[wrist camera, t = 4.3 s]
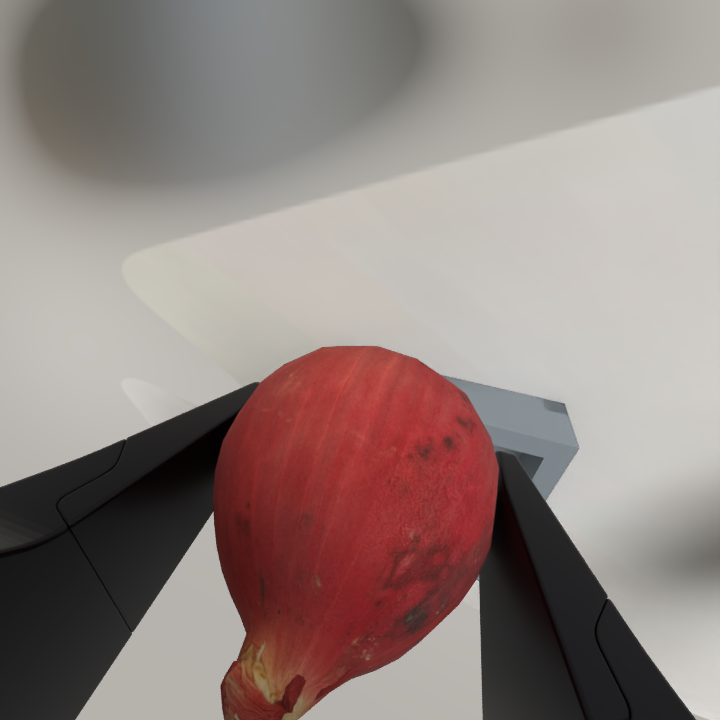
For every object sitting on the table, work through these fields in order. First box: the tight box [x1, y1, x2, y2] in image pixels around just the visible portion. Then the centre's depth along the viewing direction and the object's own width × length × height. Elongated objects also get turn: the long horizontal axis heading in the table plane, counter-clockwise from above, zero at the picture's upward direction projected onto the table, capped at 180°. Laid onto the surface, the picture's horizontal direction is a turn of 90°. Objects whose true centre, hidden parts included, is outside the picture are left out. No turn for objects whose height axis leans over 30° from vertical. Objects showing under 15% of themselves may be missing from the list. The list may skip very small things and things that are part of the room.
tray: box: [441, 375, 579, 581], centre depth 24 cm, size 14×14×4 cm
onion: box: [213, 346, 499, 720], centre depth 8 cm, size 6×6×8 cm
